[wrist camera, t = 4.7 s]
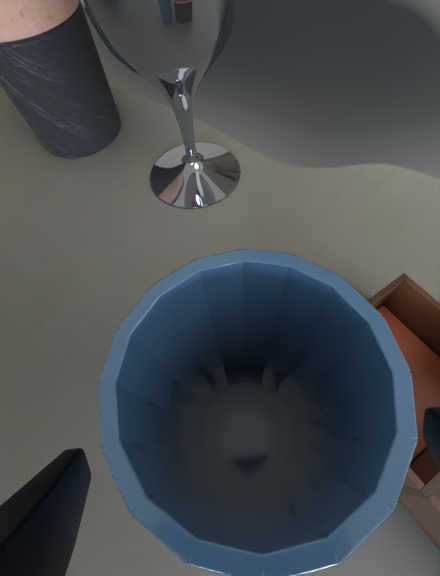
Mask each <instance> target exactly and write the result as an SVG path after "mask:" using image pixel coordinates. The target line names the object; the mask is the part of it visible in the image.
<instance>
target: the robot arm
mask: <svg viewBox="0 0 440 576" xmlns="http://www.w3.org/2000/svg"><path fill="white" fill-rule="evenodd" d="M422 434H423V439H424V442H425V444H426V446H427V447H428V449H429V451H430V452H431V454H432V456H433V458H434V459H435V461H436V463H437V465H438V466H439V468H440V406H437V407H429V408H426V410H425V411H424V420H423V432H422ZM90 480H91V472H90V468H89V465H88V462H87V459H86V456H85V453H84V450H83V449H81V448H75V449H68V450H65V451H64V452H62V453H61V454H60V455H59V456H58V457H57V458H55V459H54V460H53V461H52V462H51V463H50V464H48V465H47V466H46V467H45V468H44V469H43V470H42V471H40V472H39V473H38V474H37V475H36V476H35V477H33V478H32V479H31V480H30V481H29V482H28V483H26V484H25V485H24V486H23V487H22V488H21V489H19V490H18V491H17V492H16V493H15V494H14V495H13V496H11V497H10V498H9V499H8V500H7V501H6V502H4V503H3V504H2V505H1V506H0V576H65V574H66V571H67V568H68V565H69V562H70V559H71V556H72V552H73V549H74V546H75V542H76V538H77V534H78V530H79V526H80V522H81V518H82V514H83V510H84V506H85V501H86V497H87V493H88V489H89V485H90Z"/></svg>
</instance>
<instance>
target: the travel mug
mask: <svg viewBox="0 0 440 576" xmlns="http://www.w3.org/2000/svg"><path fill="white" fill-rule="evenodd" d="M0 85H1V86H2V88H3V89H4V90H5V92H6V93H7V95H8V96H9V97H10V99H11V100H12V102H13V103H14V105H15V106H16V107H17V109H18V110H19V112H20V113H21V115H22V116H23V117H24V119H25V120H26V122H27V123H28V124H29V126H30V127H31V129H32V130H33V132H34V133H35V134H36V136H37V137H38V139H39V140H40V141H41V143H42V144H43V145H44V147H45V148H46V149H47V150H48V151H49V152H51V153H52V154H54V155H56V156H60V157H66V158H76V157H82V156H86V155H90V154H92V153H95V152H97V151H99V150H101V149H103V148H104V147H106V146H107V145H108V144H110V143H111V142H112V141H113V140H114V139H115V137H116V136H117V134H118V132H119V130H120V124H121V123H120V117H119V114H118V111H117V108H116V105H115V102H114V99H113V96H112V93H111V90H110V87H109V84H108V81H107V78H106V75H105V73H104V69H103V66H102V64H101V61H100V58H99V55H98V52H97V49H96V46H95V43H94V40H93V37H92V34H91V31H90V29H89V25H88V22H87V19H86V17H85V14H84V11H83V8H82V5H81V2H80V0H0Z"/></svg>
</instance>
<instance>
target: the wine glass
mask: <svg viewBox="0 0 440 576" xmlns="http://www.w3.org/2000/svg"><path fill="white" fill-rule="evenodd" d="M81 2H82V4H83V6H84V8H85V11H86V12H87V14H88V16H89V18H90V20H91V21H92V23H93V25H94V26H95V28H96V30H97V32H98V34H99V35H100V37H101V39H102V40H103V41H104V43H105V44H106V46H107V47H108V49H109V50H110V52H111V53H112V54H113V55H114V56H115V57H116V58H117V59H118V60H120V61H121V62H122V63H123V64H124V65H125V66H126V67H127V68H129V69H130V70H131V71H133V72H134V73H136V74H137V75H138V76H140V77H141V78H143V79H144V80H145V81H147V82H148V83H149V84H151V85H152V86H154V87H155V88H156V89H157V90H158V91H160V92H161V93H162V94H163V95H164V96H165V98H166V99H167V100H168V102H169V103H170V105H171V106H172V109H173V111H174V113H175V116H176V119H177V121H178V124H179V127H180V130H181V134H182V137H183V141H184V145H181V146H178V147H175V148H173V149H171V150H169V151H168V152H166V153H165V154H164V155H162V156H161V157H160V158H159V159H158V161H157V162H156V163H155V165H154V167H153V168H152V171H151V175H150V183H151V187H152V189H153V191H154V193H155V194H156V195H157V197H159V198H160V199H161V200H162V201H164V202H166V203H167V204H170V205H172V206H175V207H180V208H201V207H205V206H209V205H212V204H214V203H217V202H218V201H220V200H222V199H224V198H225V197H226V196H228V195H229V194H230V193H231V192H232V191H233V190H234V188H235V187H236V185H237V183H238V181H239V178H240V166H239V163H238V161H237V159H236V158H235V156H234V155H233V154H232V153H231V152H230V151H228V150H227V149H225V148H223V147H221V146H219V145H215V144H212V143H205V142H196V143H195V140H194V130H193V101H194V97H195V94H196V91H197V89H198V87H199V85H200V82H201V81H202V79H203V77H204V76H205V75H206V73H207V72H208V70H209V69H210V67H211V65H212V64H213V63H214V61H215V60H216V59H217V57H218V56H219V54H220V53H221V51H222V49H223V47H224V45H225V43H226V41H227V39H228V37H229V35H230V33H231V29H232V26H233V22H234V18H235V14H236V8H237V2H238V0H81Z"/></svg>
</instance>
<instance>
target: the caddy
mask: <svg viewBox="0 0 440 576" xmlns="http://www.w3.org/2000/svg"><path fill="white" fill-rule="evenodd" d="M368 302H369V303H370V304H371V305H372V306H373V307H374V308H375V309H376V310H377V311H378V312H379V313H381V315H382V317H384V319H385V321H386V323H387V325H388V327H389V329H390V331H391V333H392V335H393V337H394V339H395V341H396V343H397V345H398V347H399V349H400V350H401V352H402V354H403V356H404V358H405V360H406V362H407V364H408V366H409V368H410V373H411V374H412V383H413V393H414V403H415V414H416V424H417V434H418V439H417V445H416V448H415V451H414V454H413V457H412V460H411V463H410V466H409V469H408V472H407V475H406V478H405V481H404V484H403V487H402V490H401V493H400V496H399V501H400V502H401V503H402V504H403V505H404V507H405V508H406V509H407V510H408V512H409V513H410V514H411V515H412V516H413V518H414V519H415V520H416V521H417V522H418V524H419V525H420V526H421V527H422V529H423V530H424V531H425V532H426V533H427V535H428V536H429V537H430V538H431V540H432V541H433V542H434V543H435V544H436V546H437V547H438V548H439V549H440V468H439V466H438V465H437V463H436V461H435V459H434V458H433V456H432V454H431V452H430V451H429V449H428V447H427V446H426V444H425V442H424V439H423V434H422V432H423V420H424V411H425V410H426V408H429V407H437V406H440V303H439V302H437V301H436V300H435V299H434V298H433V297H432V296H430V295H429V294H428V293H427V292H426V291H424V290H423V289H422V288H421V287H420V286H419V285H417V284H416V283H415V282H414V281H413V280H411V279H410V278H408V276H407V275H406V274H402V275H401V276H400V277H398V278H397V279H396V280H394V281H393V282H392V283H390V284H389V285H388V286H387V287H385V288H384V289H383V290H381V291H380V292H379V293H377V294H376V295H375V296H373V297H372V298H371V299H369V300H368Z"/></svg>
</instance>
